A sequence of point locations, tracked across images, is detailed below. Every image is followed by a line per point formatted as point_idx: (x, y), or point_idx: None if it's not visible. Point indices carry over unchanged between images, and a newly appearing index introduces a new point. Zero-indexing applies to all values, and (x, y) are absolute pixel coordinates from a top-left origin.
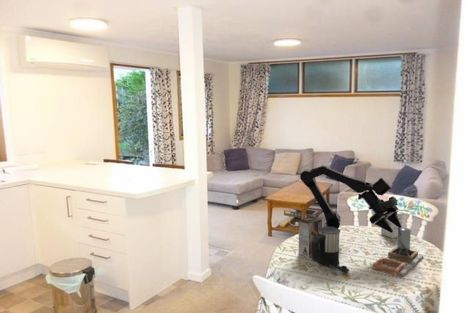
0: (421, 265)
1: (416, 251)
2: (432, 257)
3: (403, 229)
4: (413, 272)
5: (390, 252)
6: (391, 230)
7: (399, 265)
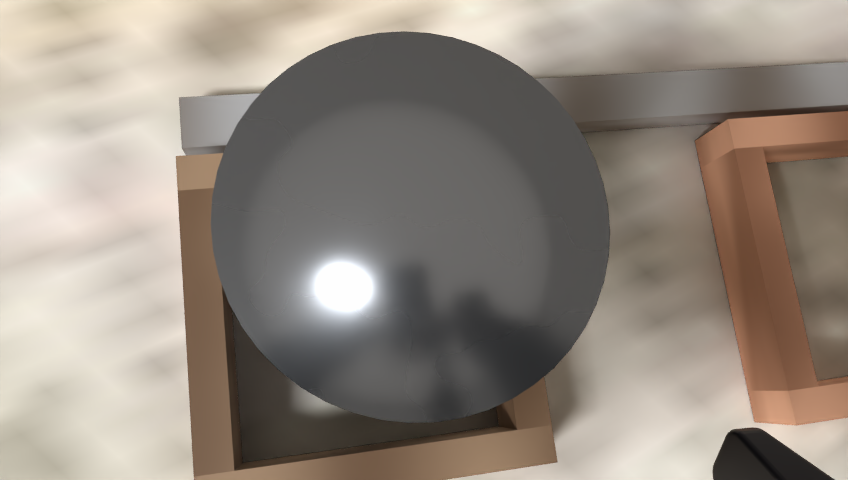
0: (476, 36)
1: (184, 176)
2: (95, 23)
3: (457, 224)
4: (724, 33)
5: (534, 434)
6: (794, 469)
7: (836, 139)
